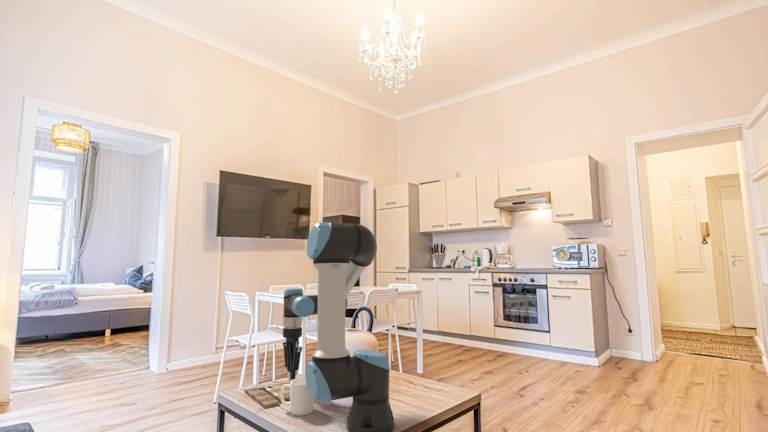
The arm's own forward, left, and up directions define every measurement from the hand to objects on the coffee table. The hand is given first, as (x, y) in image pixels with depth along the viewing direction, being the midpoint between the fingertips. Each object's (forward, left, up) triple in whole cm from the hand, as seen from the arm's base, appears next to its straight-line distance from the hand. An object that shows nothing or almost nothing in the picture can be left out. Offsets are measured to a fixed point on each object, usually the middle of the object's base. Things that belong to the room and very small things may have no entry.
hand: (291, 387), depth 157 cm
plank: (0, +4, -2) cm, 4 cm away
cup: (-19, +7, -2) cm, 21 cm away
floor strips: (0, +12, -2) cm, 12 cm away
